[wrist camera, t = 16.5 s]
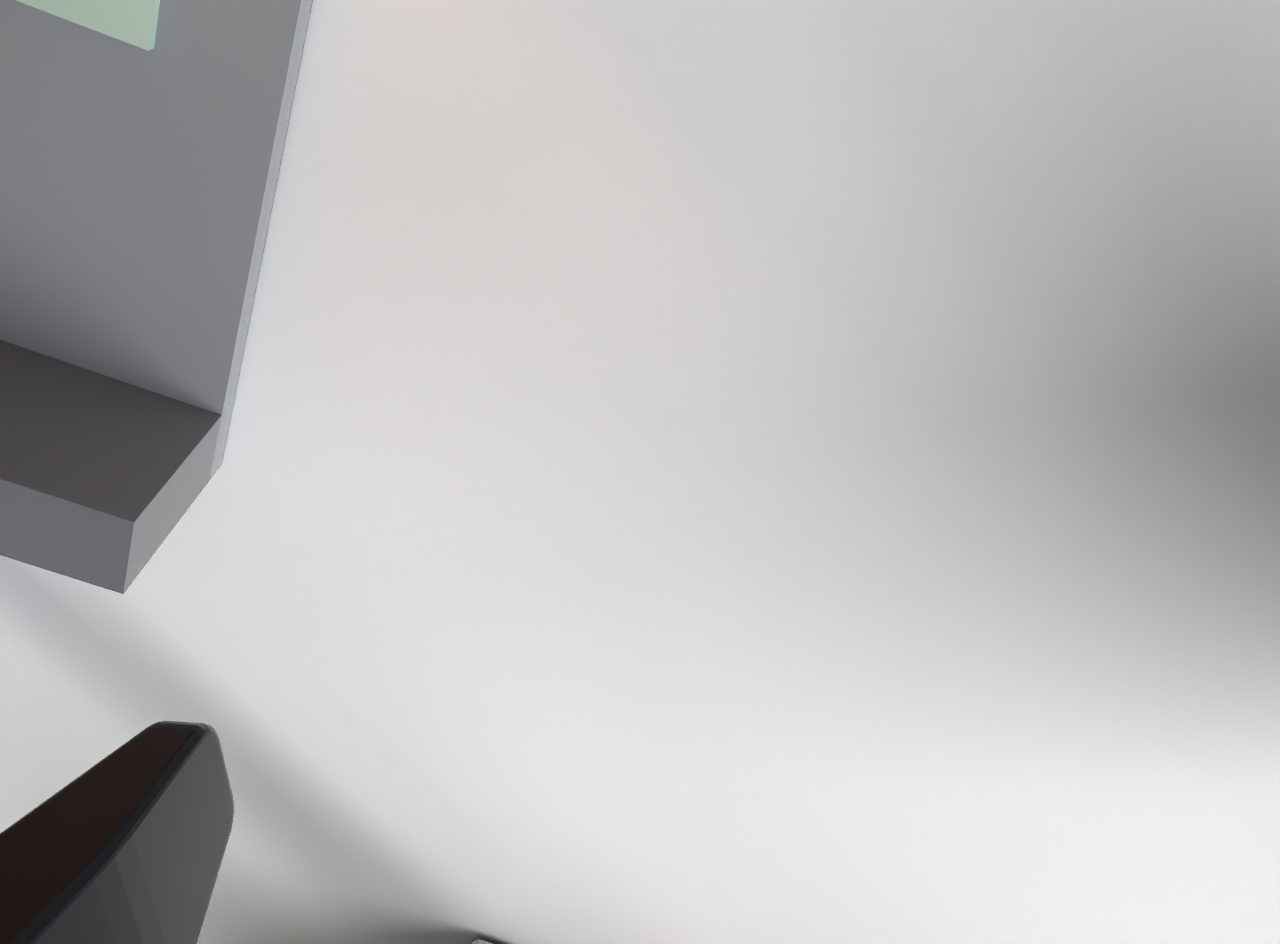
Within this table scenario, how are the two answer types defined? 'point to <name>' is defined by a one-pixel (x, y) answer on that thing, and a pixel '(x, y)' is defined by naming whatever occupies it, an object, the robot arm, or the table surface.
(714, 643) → the table surface
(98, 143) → the tray
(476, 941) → the coffee box
